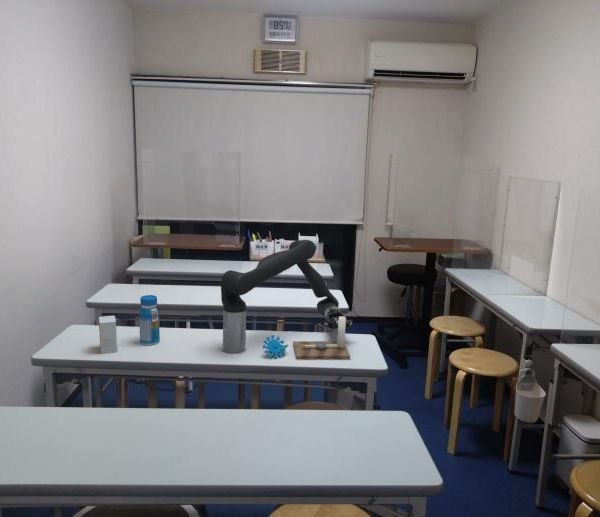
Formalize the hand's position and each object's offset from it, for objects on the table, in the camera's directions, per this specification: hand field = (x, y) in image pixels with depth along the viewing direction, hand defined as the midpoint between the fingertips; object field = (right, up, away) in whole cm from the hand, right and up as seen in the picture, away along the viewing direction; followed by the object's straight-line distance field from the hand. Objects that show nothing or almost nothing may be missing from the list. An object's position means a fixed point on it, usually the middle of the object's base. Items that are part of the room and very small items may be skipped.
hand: (342, 330), depth 215 cm
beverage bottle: (-82, -6, +3) cm, 82 cm away
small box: (-96, -7, -7) cm, 97 cm away
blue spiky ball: (-28, -10, -6) cm, 30 cm away
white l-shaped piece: (-8, -7, -1) cm, 11 cm away
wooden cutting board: (-9, -9, -1) cm, 13 cm away
